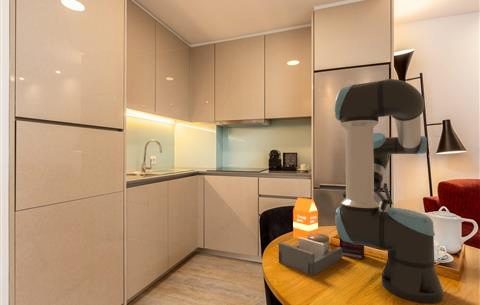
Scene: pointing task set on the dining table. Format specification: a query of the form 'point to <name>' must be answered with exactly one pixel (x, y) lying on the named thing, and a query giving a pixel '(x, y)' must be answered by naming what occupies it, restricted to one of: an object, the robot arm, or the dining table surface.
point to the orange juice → (304, 218)
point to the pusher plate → (311, 246)
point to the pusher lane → (307, 258)
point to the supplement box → (352, 249)
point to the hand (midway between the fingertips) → (360, 213)
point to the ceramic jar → (320, 239)
